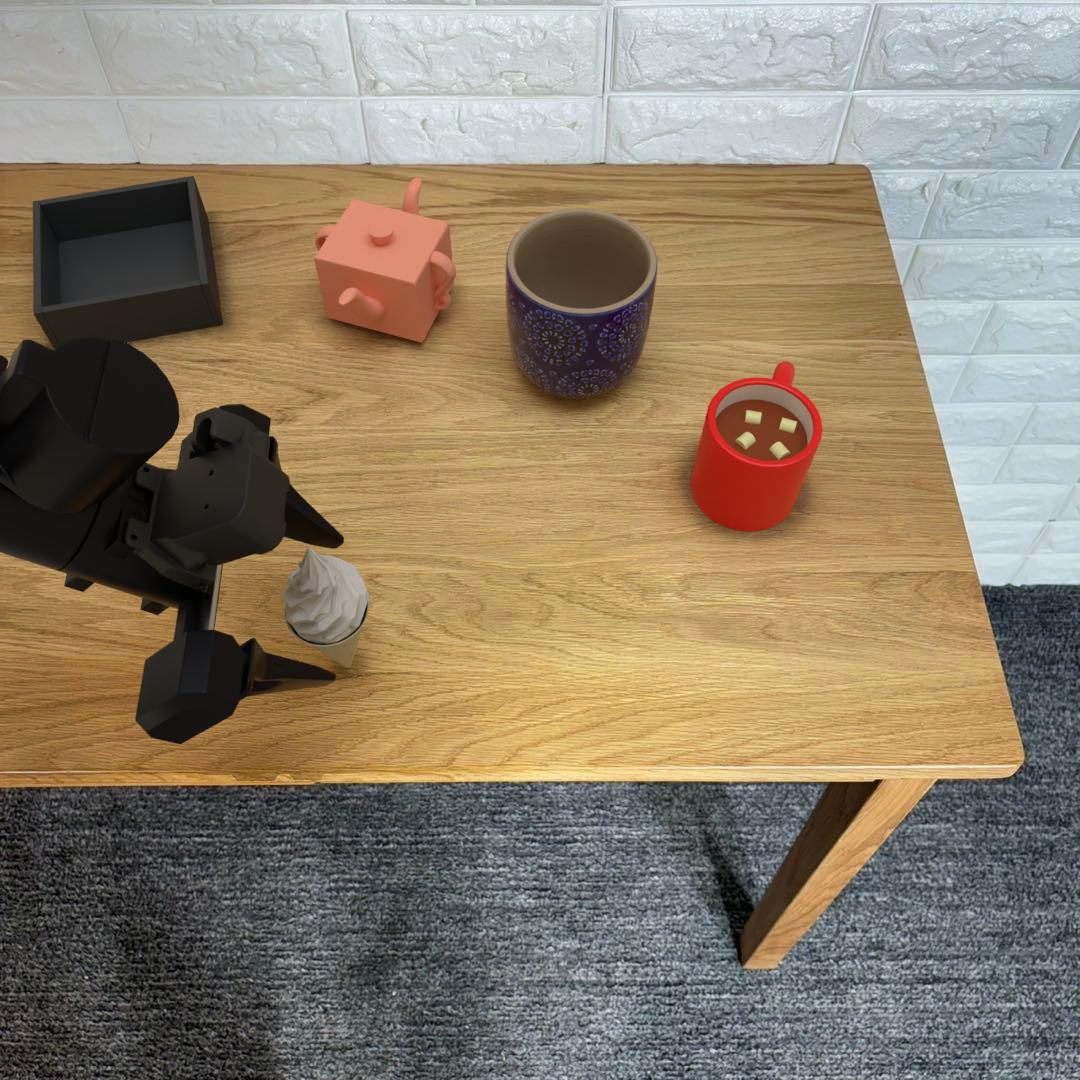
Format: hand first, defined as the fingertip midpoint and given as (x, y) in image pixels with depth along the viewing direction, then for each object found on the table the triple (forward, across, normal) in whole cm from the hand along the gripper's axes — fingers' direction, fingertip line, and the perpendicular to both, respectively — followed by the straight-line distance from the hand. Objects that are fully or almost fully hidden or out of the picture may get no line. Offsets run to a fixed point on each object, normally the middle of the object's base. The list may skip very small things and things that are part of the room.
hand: (336, 609), depth 60 cm
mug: (+26, +15, -15) cm, 34 cm away
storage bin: (-9, +36, +20) cm, 42 cm away
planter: (+17, +26, -6) cm, 32 cm away
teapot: (+7, +33, +4) cm, 34 cm away
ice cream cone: (+5, 0, +6) cm, 8 cm away
